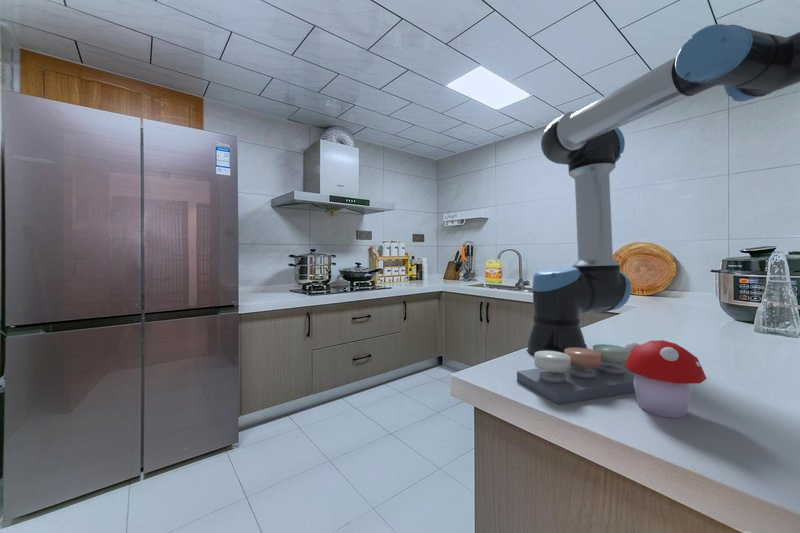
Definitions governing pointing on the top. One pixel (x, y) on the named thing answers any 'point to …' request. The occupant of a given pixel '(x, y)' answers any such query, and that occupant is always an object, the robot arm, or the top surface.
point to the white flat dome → (552, 361)
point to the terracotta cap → (584, 357)
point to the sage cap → (612, 353)
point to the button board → (579, 382)
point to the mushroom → (663, 376)
